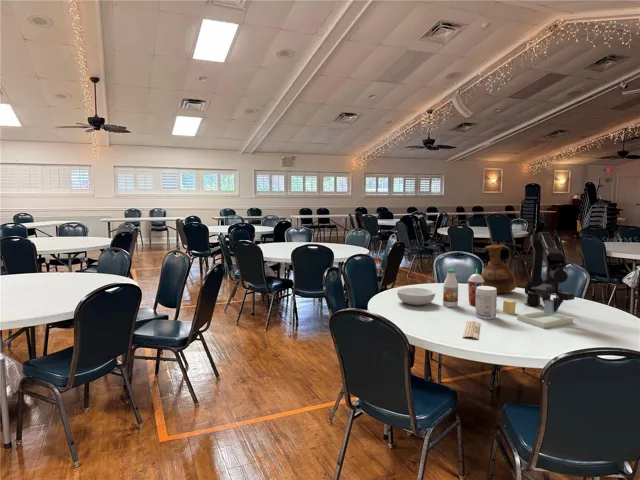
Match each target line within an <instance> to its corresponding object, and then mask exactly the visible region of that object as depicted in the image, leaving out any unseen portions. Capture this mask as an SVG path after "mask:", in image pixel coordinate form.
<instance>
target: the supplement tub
mask: <svg viewBox="0 0 640 480" xmlns="http://www.w3.org/2000/svg"><path fill="white" fill-rule="evenodd" d="M497 295H498V294H497V289H496V288H495V287H490V286H478V287H476V306H475V310H474V311H475V317H476V318H478V319H483V320H493V319H496V317H497V299H498V298H497Z"/></svg>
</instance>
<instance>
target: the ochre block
mask: <svg viewBox="0 0 640 480" xmlns="http://www.w3.org/2000/svg"><path fill="white" fill-rule="evenodd" d="M502 312H503V313H505V314H507V315H513V314H515V313H516V301H514V300H511V299H506V300H503V304H502Z"/></svg>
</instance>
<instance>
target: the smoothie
mask: <svg viewBox="0 0 640 480" xmlns="http://www.w3.org/2000/svg"><path fill="white" fill-rule="evenodd" d="M481 275H482V274H480V273H478V268H476V269H475V273H473V274H471V275H470V276H469V278H468V279H467V284H468V289H467V290H468V302H469V305H470V306H472V307H473V306H475V307H476V287H478V286H484V279H483V277H482V276H481Z"/></svg>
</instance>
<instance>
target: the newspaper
mask: <svg viewBox="0 0 640 480" xmlns="http://www.w3.org/2000/svg"><path fill="white" fill-rule="evenodd" d="M480 325H481V323H480V322H478V321H476V320H468V321H466V323H465V328H464V331H463V336H462V339H464V338H466V337H467V338H474V339H475V340H478V339H479V333H480Z"/></svg>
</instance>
